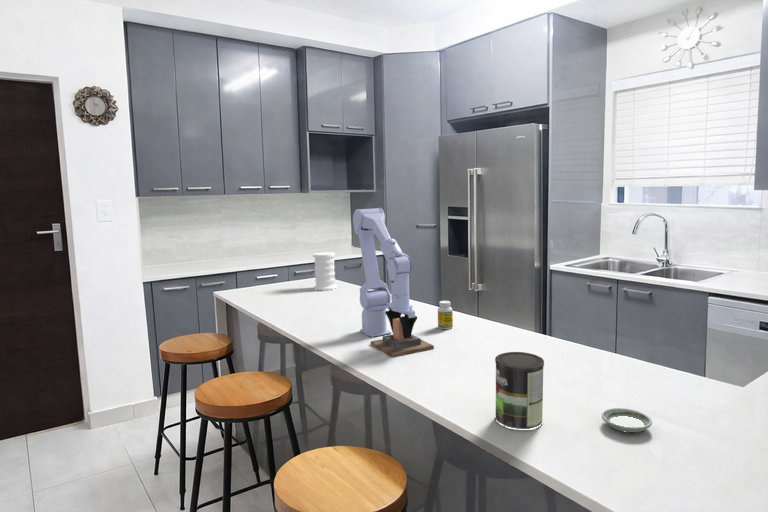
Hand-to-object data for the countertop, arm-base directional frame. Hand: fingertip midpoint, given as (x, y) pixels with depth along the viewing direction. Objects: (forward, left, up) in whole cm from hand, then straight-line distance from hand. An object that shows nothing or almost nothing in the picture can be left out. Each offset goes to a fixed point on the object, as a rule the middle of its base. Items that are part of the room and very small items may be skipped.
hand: (401, 334), depth 167 cm
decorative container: (-102, +14, -4) cm, 103 cm away
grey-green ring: (+73, +13, -4) cm, 74 cm away
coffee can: (+59, -4, -4) cm, 59 cm away
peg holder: (0, 0, -4) cm, 4 cm away
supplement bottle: (-10, +24, -4) cm, 26 cm away
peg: (0, 0, -3) cm, 3 cm away
